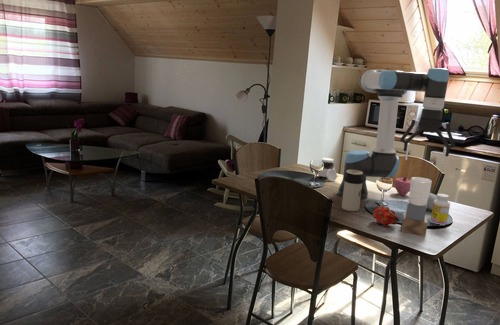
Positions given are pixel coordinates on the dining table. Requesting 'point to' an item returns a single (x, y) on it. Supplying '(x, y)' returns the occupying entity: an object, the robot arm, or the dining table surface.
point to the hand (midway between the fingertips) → (424, 161)
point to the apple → (402, 185)
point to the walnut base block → (414, 226)
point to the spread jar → (328, 170)
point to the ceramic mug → (431, 201)
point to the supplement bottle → (440, 209)
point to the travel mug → (352, 190)
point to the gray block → (415, 212)
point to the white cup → (419, 191)
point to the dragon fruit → (385, 216)
